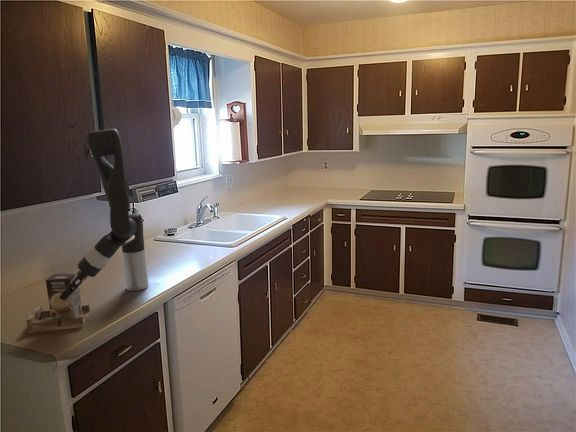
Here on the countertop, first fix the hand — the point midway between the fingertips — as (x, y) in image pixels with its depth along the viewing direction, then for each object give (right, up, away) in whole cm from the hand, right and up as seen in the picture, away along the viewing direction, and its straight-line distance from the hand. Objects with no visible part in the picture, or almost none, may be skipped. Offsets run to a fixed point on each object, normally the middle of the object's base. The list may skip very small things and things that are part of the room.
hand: (64, 294), depth 161 cm
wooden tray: (-2, -11, +2) cm, 11 cm away
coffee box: (0, -9, +2) cm, 9 cm away
